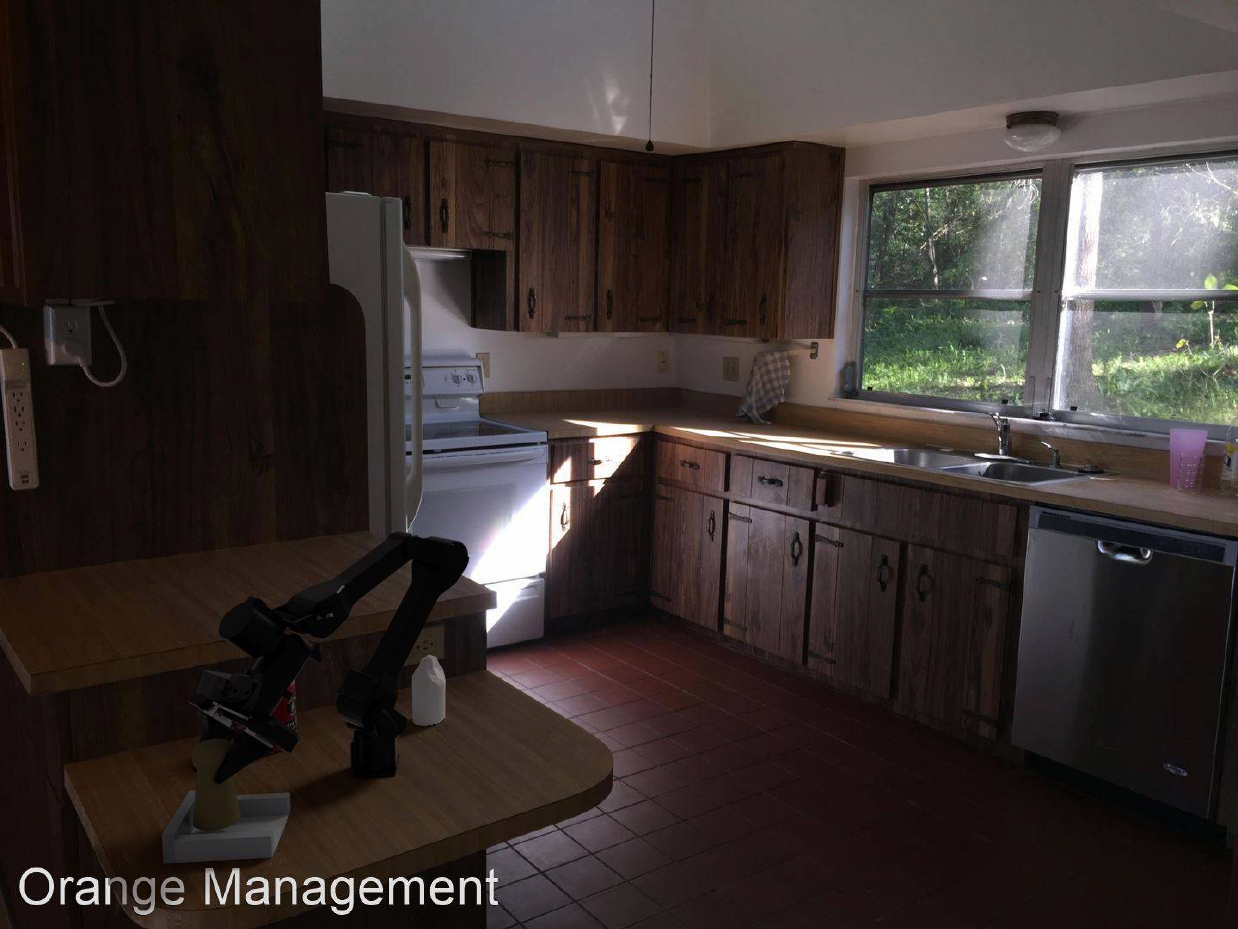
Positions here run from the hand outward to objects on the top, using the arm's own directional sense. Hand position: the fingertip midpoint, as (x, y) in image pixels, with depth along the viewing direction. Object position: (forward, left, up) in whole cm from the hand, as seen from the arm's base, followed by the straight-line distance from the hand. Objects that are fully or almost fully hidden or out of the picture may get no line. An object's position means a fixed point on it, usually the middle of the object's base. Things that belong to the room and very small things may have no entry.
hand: (204, 777), depth 134 cm
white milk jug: (-27, -38, -9) cm, 47 cm away
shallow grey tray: (-3, -1, -9) cm, 10 cm away
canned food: (-2, -31, -9) cm, 32 cm away
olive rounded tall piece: (-1, -1, -7) cm, 7 cm away
